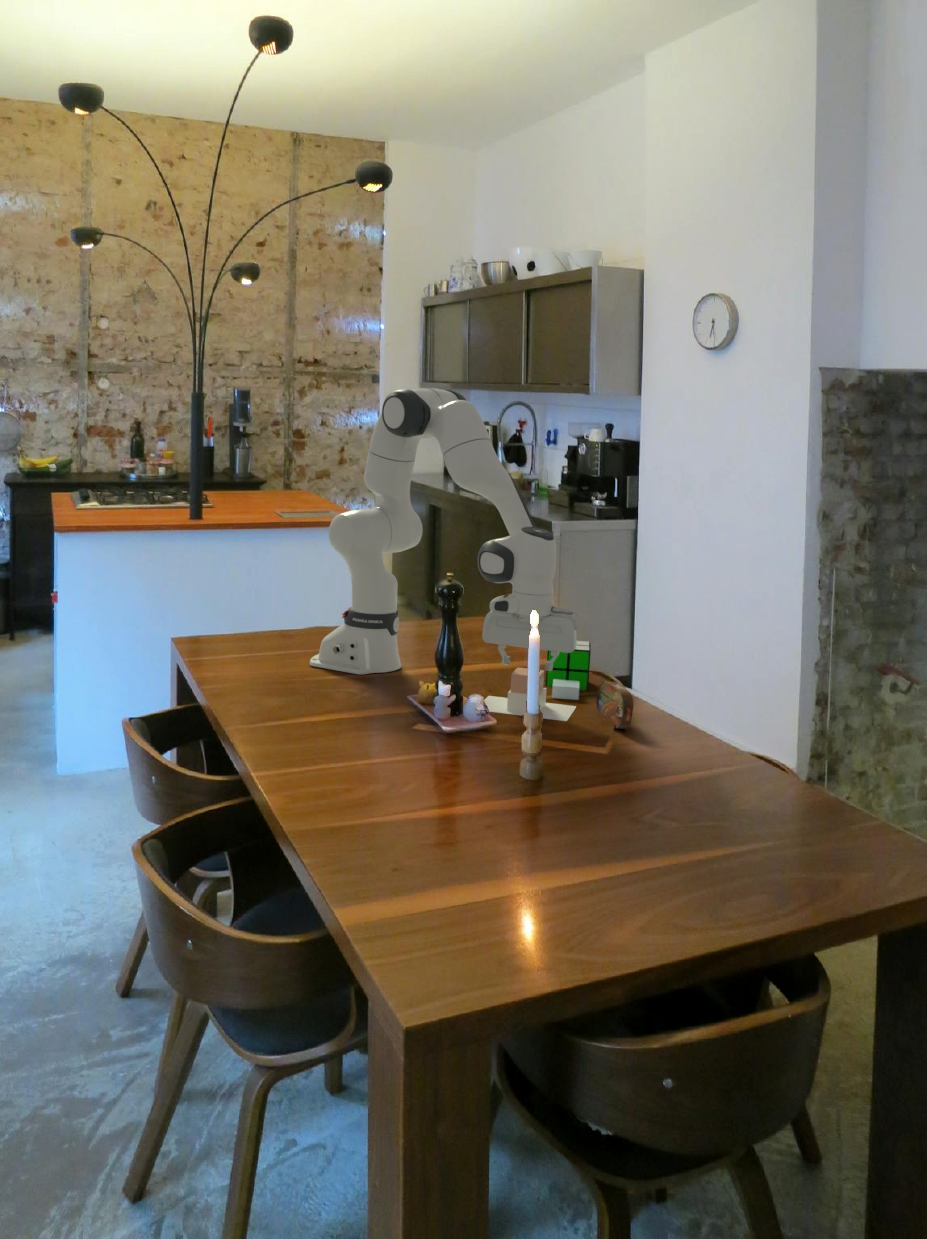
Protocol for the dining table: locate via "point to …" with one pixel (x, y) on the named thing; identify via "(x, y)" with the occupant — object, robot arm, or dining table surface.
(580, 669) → the puzzle cube
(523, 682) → the terracotta brick
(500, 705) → the board
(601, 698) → the tin
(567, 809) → the dining table surface
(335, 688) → the dining table surface
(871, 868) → the dining table surface
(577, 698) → the blue brick
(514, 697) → the base brick
